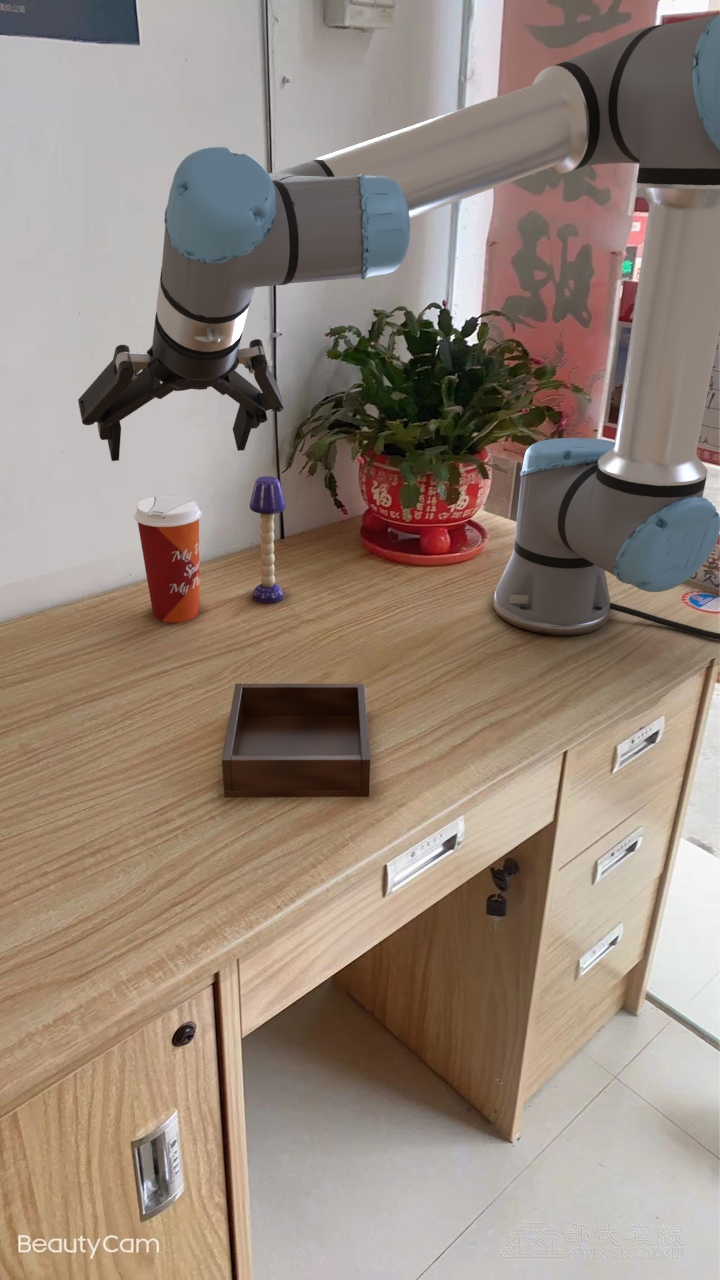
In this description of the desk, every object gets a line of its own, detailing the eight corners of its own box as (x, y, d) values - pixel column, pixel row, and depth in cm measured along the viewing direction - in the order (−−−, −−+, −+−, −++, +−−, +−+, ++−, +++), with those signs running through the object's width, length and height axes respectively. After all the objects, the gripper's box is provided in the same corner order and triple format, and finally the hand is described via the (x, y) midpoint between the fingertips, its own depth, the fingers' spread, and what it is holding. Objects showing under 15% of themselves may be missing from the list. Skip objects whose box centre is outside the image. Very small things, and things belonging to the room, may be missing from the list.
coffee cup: (194, 630, 112) (186, 518, 105) (134, 622, 113) (121, 512, 106) (217, 602, 119) (210, 495, 112) (160, 595, 121) (149, 490, 114)
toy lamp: (257, 587, 123) (253, 472, 116) (290, 590, 123) (288, 474, 115) (249, 602, 119) (244, 483, 111) (283, 605, 119) (280, 486, 111)
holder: (363, 717, 95) (364, 683, 93) (369, 797, 83) (370, 759, 81) (237, 717, 94) (235, 683, 92) (224, 797, 83) (221, 760, 80)
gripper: (56, 363, 71) (62, 486, 90) (345, 350, 80) (294, 465, 99) (42, 285, 73) (51, 422, 92) (325, 280, 81) (279, 406, 101)
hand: (177, 444), depth 96 cm, fingers open, 13 cm apart
